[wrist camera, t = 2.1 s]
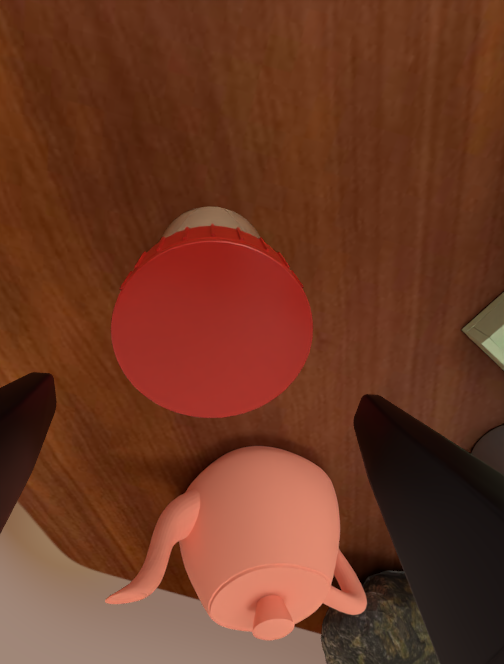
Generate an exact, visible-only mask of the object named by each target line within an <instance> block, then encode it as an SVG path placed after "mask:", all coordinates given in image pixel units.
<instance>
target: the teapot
mask: <svg viewBox="0 0 504 664" xmlns="http://www.w3.org/2000/svg"><path fill="white" fill-rule="evenodd" d="M339 538H340V517H339V508H338V502H337V496H336V493H335V490H334V487H333V484H332V481H331V480H330V478H329V477H328V475H327V474H326V473H325V472H324V471H323V470H322V469H321V468H320V467H318V466H317V465H315V464H314V463H312V462H311V461H309V460H307V459H305V458H303V457H301V456H299V455H297V454H294V453H291V452H289V451H286V450H283V449H279V448H274V447H268V446H249V447H243V448H239V449H236V450H233V451H231V452H228V453H227V454H225V455H223V456H221V457H220V458H218V459H217V460H215V461H214V462H213V463H211V464H210V465H209V466H208V467H207V468H205V469H204V470H203V471H202V472H201V473H200V474H199V475H198V476H197V477H196V478H195V480H194V481H193V482H192V483H191V484H190V486H189V487H188V489H187V491H186V492H185V493H184V494H182V495H179V496H178V497H177V498H176V499H174V500H173V501H172V502H170V503H169V504H168V505H167V507H166V508H165V509H164V511H163V512H162V514H161V515H160V517H159V519H158V521H157V523H156V526H155V529H154V532H153V535H152V539H151V542H150V546H149V550H148V553H147V557H146V559H145V562H144V565H143V566H142V568H141V570H140V572H139V573H138V575H137V576H136V577H135V578H134V579H133V580H132V581H131V583H130V584H128V585H127V586H125V587H124V588H122V589H121V590H119V591H117V592H116V593H114V594H112V595H111V596H109V597H108V598H107V599H106V600H105V602H106V603H108V604H125V603H130V602H135V601H139V600H142V599H144V598H146V597H147V596H149V595H150V594H152V593H153V591H154V590H155V589H156V588H157V587H158V586H159V584H160V582H161V580H162V578H163V576H164V573H165V570H166V567H167V564H168V560H169V556H170V553H171V550H172V547H173V546H174V544H175V543H176V542H178V541H179V544H180V550H181V554H182V559H183V562H184V566H185V569H186V571H187V574H188V576H189V579H190V581H191V583H192V585H193V587H194V589H195V591H196V593H197V595H198V597H199V599H200V601H201V603H202V605H203V607H204V608H205V610H206V611H207V613H208V615H209V616H210V617H211V619H212V620H214V621H215V622H216V623H217V624H219V625H221V626H223V627H226V628H229V629H234V630H240V631H249V632H253V636H255V637H256V638H258V639H262V640H276V639H280V638H282V637H285V636H286V635H288V634H289V633H290V632H292V631H293V629H294V624H296V623H298V622H300V621H302V620H304V619H305V618H307V617H308V616H310V615H311V614H312V613H314V612H315V611H316V610H317V609H318V608H319V607H320V606H321V604H322V603H324V604H326V605H327V606H329V607H331V608H333V609H336V610H338V611H340V612H343V613H346V614H350V615H357V614H360V613H362V612H363V611H364V610H365V609H366V606H367V599H366V595H365V592H364V589H363V587H362V585H361V583H360V581H359V579H358V577H357V575H356V574H355V572H354V570H353V569H352V567H351V566H350V564H349V563H348V561H347V560H346V558H345V557H344V555H343V554H342V553H341V551H340V550H339V548H338V547H339ZM334 575H335V577H336V579H337V581H338V583H339V586H340V588H341V590H339V589H337V588H335V587H333V586H331V583H332V580H333V576H334Z"/></svg>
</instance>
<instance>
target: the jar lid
mask: <svg viewBox="0 0 504 664" xmlns="http://www.w3.org/2000/svg"><path fill="white" fill-rule="evenodd" d="M289 267H290V266H289V265H288V263H287V262H286V260H285V259H284V258H283V256H282V255H281V253H280V252H278V253H277V252H275V251H274V250H273V249H272V248H271V247H270V246H269V245H267V244H266V243H265V242H264V240H263V238H261V237H259V238H257V237H255V236H253V235H251V234H249V233H246V232H244V231H241V230H240V228H239V227H237V228H236V229H234V228H229V227H223V226H214V224H211V226H200V227H194V228H189V227H185V230H183V231H180V232H177V233H174V234H172V235H170V236H168V237H166V238H165V236H163V237H162V238H161V240H160V242H159V243H157V244H156V245H154V246H153V247H152V248H151V249H150V250H149V251H148V252H147V253H146V252H145V251H144V252H143V254H142V255H141V257H140V258H139V260H138V262H137V263H136V265H135V266H134V268H135V269H134V271H133V272H132V271H130V273H129V274H128V276H127V277H126V279H125V281H124V282H123V284H122V285H121V287H120V290H121V292H120V294H119V296H118V298H117V301H116V304H115V306H114V310H113V315H112V320H111V338H112V345H113V349H114V353H115V356H116V358H117V361H118V363H119V366H120V367H121V369H122V371H123V372H124V374H125V376H126V377H127V378H128V380H129V381H130V382H131V383H132V385H133V386H134V387H135V388H136V389H137V390H138V391H140V392H141V393H142V394H143V395H144V396H146V397H147V398H148V399H150V400H151V401H153V402H154V403H156V404H158V405H160V406H162V407H164V408H166V409H168V410H171V411H173V412H177V413H180V414H183V415H188V416H193V417H202V418H221V417H229V416H234V415H239V414H243V413H246V412H249V411H252V410H254V409H256V408H259V407H261V406H263V405H265V404H266V403H268V402H270V401H271V400H273V399H274V398H276V397H277V396H278V395H280V394H281V393H282V392H283V391H284V390H285V389H286V388H288V387H289V385H290V384H291V383H292V382H293V381H294V380H295V379H296V377H297V376H298V374H299V373H300V371H301V370H302V368H303V366H304V364H305V362H306V360H307V357H308V354H309V351H310V348H311V343H312V336H313V321H312V313H311V309H310V305H309V302H308V300H307V297H306V295H305V293H304V291H303V289H302V288H304V287H303V285H302V284H301V282H300V281H299V279H298V278H297V276H296V275H295V274H294V272H293V271H290V269H289Z"/></svg>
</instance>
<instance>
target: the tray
mask: <svg viewBox="0 0 504 664" xmlns="http://www.w3.org/2000/svg"><path fill="white" fill-rule="evenodd" d="M462 331H463V332H464V333H465V334H466V335H467V336H468V337H469V338H470V339H471V340H472V341H473V342H474V343H475V344H476V345H478V346H479V347H480V348H481V349H482V350H483V351H484V352H485V353H486V354H487V355H488V356H489V357H490V358H491V359H492V360H493V361H494V362H495V363H496V364H497V365H498V366H499V367H500V368H501V369H503V370H504V292H503V293H502V294H501V295H500V296H499V297H497V298H496V299H495V300H494V301H493V302H492V303H491V304H490V305H488V306H487V307H486V308H485V309H484V310H483V311H482V312H481V313H479V314H478V315H477V316H476V317H475V318H474V319H473V320H472V321H470V322H469V323H468V324H467V325H466V326H465V327H464V328H463V329H462Z"/></svg>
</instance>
